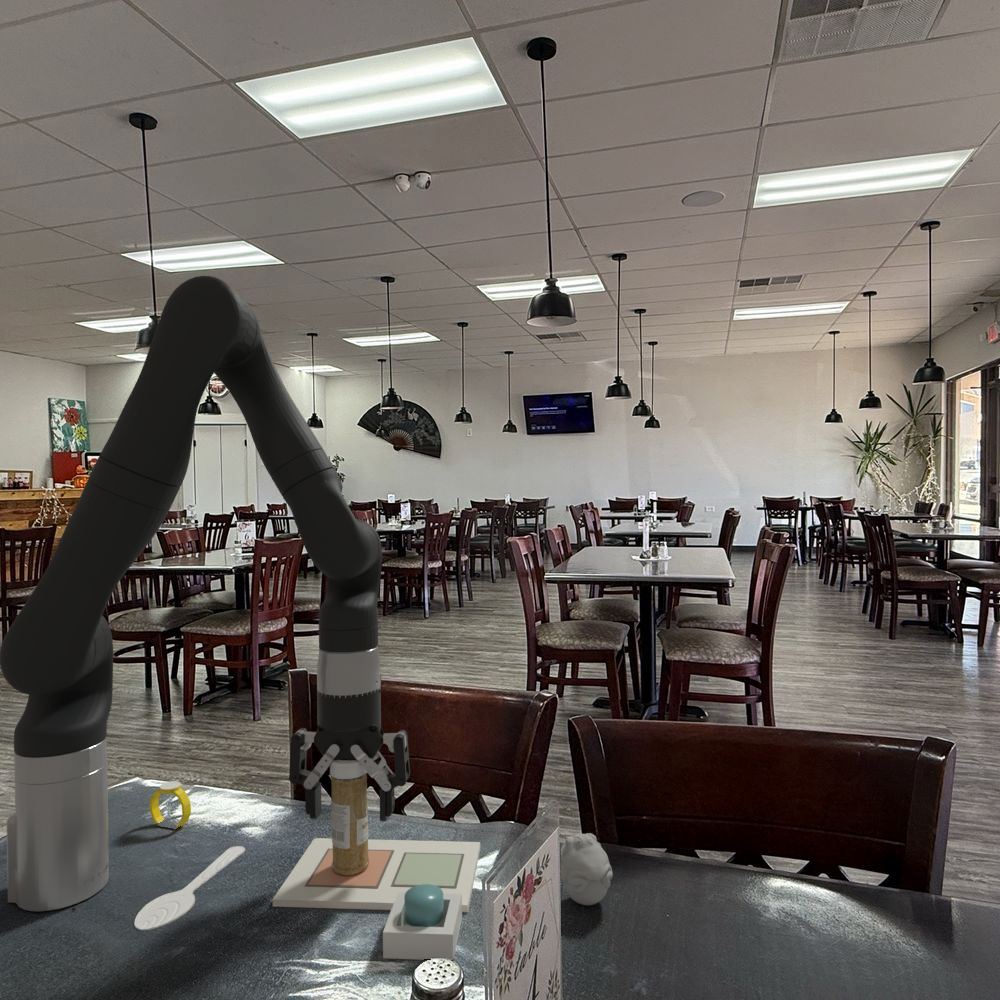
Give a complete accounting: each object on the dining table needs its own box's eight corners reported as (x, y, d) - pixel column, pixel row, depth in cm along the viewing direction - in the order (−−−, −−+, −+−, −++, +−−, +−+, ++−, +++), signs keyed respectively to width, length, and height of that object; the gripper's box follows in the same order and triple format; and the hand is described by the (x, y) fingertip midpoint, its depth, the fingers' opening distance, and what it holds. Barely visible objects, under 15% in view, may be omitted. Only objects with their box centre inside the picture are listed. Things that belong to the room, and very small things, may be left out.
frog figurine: (596, 879, 83) (595, 820, 83) (624, 912, 76) (623, 849, 76) (548, 888, 81) (548, 829, 81) (573, 923, 74) (572, 858, 74)
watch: (194, 827, 98) (196, 785, 98) (179, 836, 96) (181, 793, 95) (160, 818, 100) (161, 777, 100) (144, 827, 97) (146, 784, 97)
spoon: (258, 851, 91) (258, 847, 91) (162, 936, 74) (162, 931, 74) (222, 847, 92) (222, 843, 92) (119, 929, 75) (119, 925, 75)
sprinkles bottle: (375, 869, 84) (374, 758, 84) (338, 881, 82) (337, 766, 81) (360, 853, 88) (359, 746, 88) (325, 864, 85) (324, 754, 85)
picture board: (272, 906, 78) (272, 898, 78) (314, 844, 92) (314, 837, 92) (467, 912, 77) (467, 904, 77) (480, 848, 91) (480, 841, 91)
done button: (401, 927, 71) (400, 905, 71) (409, 904, 75) (408, 883, 75) (440, 928, 70) (439, 906, 70) (446, 905, 74) (445, 884, 74)
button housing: (383, 958, 69) (382, 932, 69) (398, 915, 76) (398, 892, 76) (453, 960, 69) (452, 934, 69) (462, 917, 76) (461, 894, 76)
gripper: (279, 692, 81) (281, 831, 81) (400, 693, 80) (401, 834, 80) (302, 675, 89) (303, 802, 89) (413, 676, 88) (414, 805, 88)
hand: (350, 817), depth 85 cm, fingers open, 8 cm apart
